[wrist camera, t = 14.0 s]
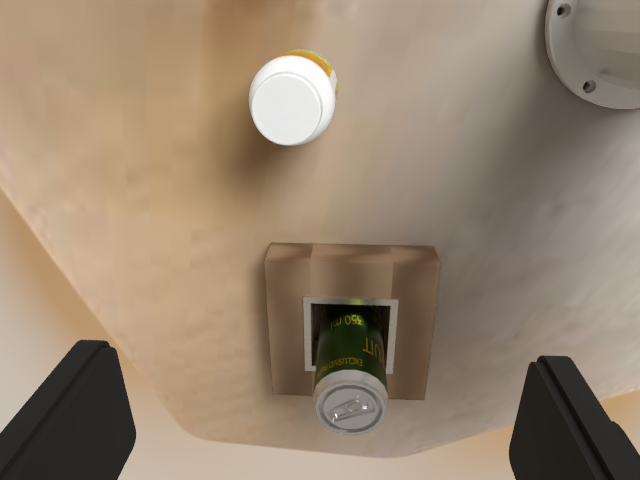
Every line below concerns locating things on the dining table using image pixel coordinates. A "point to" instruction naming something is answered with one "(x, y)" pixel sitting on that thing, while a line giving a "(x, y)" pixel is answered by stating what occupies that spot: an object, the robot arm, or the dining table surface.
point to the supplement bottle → (293, 97)
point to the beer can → (350, 369)
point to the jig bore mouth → (350, 301)
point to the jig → (351, 281)
